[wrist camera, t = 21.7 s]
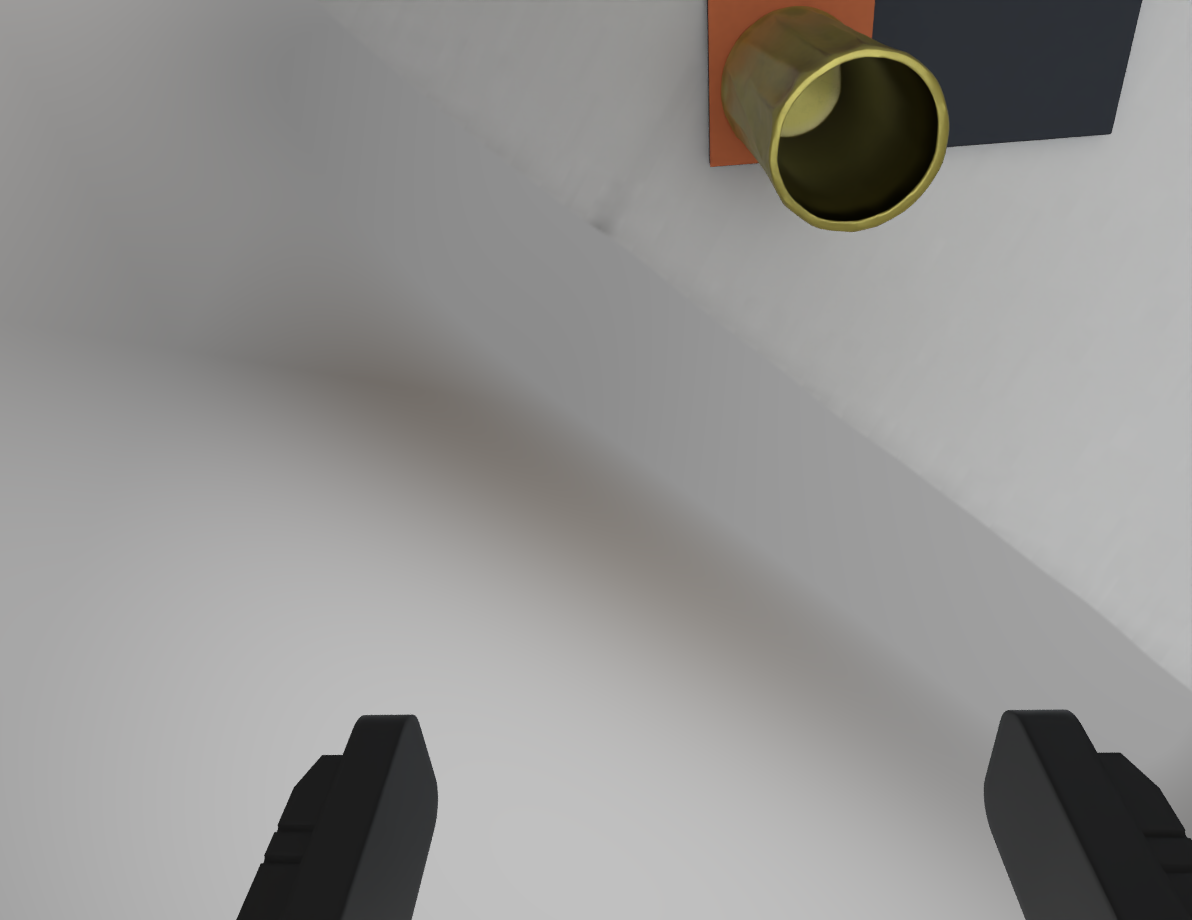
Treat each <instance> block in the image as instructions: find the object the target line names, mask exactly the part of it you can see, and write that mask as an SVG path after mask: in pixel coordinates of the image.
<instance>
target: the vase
mask: <svg viewBox="0 0 1192 920" xmlns="http://www.w3.org/2000/svg"><path fill="white" fill-rule="evenodd" d="M721 100H722V107H723V110H724V113H725V116H726V118H727V120H728V122H729V124H730V126H731V128H732V130H733V132H734V133H735V135H736V137H737V138H739V139H740V140H741V141H742V142H743V143H744V144H745V146H746V147H747V148H748V150H749V151H750V152H751V153H752V154H753V156H754V157H755V158H756V160H757V161H758V162H759V164H760V165H761V166H762V168H763V169H764V171H765V172H766V174H767V175H768V177H769V179H770V181H771V183H772V184H773V186H774V188H775V190H776V192H777V194H778V195H779V197H780V199H781V201H782V203H783V204H784V205H785V206H786V207H787V208H788V209H790V210H791V211H792V212H793V213H795V214H796V215H797V216H799V217H800V218H801V219H803V220H804V221H806V222H807V223H809V224H810V225H812V226H814V227H817V228H819V229H825V230H832V231H845V232H856V231H861V230H865V229H869V228H873V227H877V226H879V225H881V224H883V223H885V222H887V221H889V220H891V219H892V218H894V217H896V216H897V215H899V214H901V213H902V212H904V211H905V210H906V209H908V208H909V207H910V206H911V205H912V204H914V203H915V202H916V201H917V200H918V199H919V197H920V196H921V195H922V194H923V193H924V192H925V190H926V189H927V188H928V187H929V185H930V184H931V182H932V181H933V179H934V178H935V176H936V174H937V173H938V171H939V169H940V167H941V165H942V163H943V160H944V156H945V153H946V148H947V142H948V136H949V115H948V110H947V106H946V102H945V98H944V95H943V92H942V89H941V87H940V85H939V83H938V81H937V79H936V78H935V76H934V75H933V74H932V73H931V72H930V71H929V70H928V68H926V67H925V66H924V65H923V64H922V63H921V62H920V61H919V60H917V59H916V58H914V57H913V56H912V55H910V54H909V53H907V52H904V51H901V50H897V49H894V48H891V47H889V46H886V45H884V44H882V43H879V42H877V41H875V40H873V39H872V38H870V37H868V36H866V35H864V34H861V33H859V32H857V31H855V30H853V29H852V28H850V27H848V26H846V25H844V24H843V23H842V22H841V21H840V20H838V19H837V18H835V17H834V16H832V15H831V14H829V13H827V12H825V11H822V10H820V9H817V8H813V7H808V6H792V7H786V8H782V9H778V10H775V11H772V12H770V13H768V14H766V15H764V16H763V17H762V18H760V19H759V20H757V21H756V22H755V23H754V24H752V25H751V26H750V27H749V28H748V29H747V30H746V31H745V32H744V33H743V34H742V35H741V36H740V37H739V39H738V40H737V41H736V43H735V45H734V46H733V48H732V49H731V52H730V54H729V56H728V58H727V60H726V63H725V66H724V69H723V74H722V82H721Z"/></svg>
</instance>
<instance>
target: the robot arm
mask: <svg viewBox="0 0 1192 920" xmlns="http://www.w3.org/2000/svg"><path fill="white" fill-rule="evenodd" d="M984 802H985V809H986V815H987V819H988V823H989V827H990V829H991V832H992V835H993V837H994V840H995V843H996V845H997V848H998V850H999V853H1000V855H1001V858H1002V860H1003V863H1004V866H1005V868H1006V871H1007V873H1008V876H1009V878H1010V881H1011V884H1012V886H1013V889H1014V891H1015V894H1016V896H1017V899H1018V901H1019V904H1020V907H1021V909H1022V911H1023V914H1024V917H1025V919H1026V920H1192V840H1191V839H1190V838H1187V837H1186V835H1185V829H1184V827H1183V825H1182V824H1181V822H1180V821H1179V819H1178V817H1177V816H1176V814H1175V813H1174V811H1173V809H1172V808H1171V806H1170V805H1169V803H1168V801H1167V800H1166V798H1165V796H1164V795H1163V793H1162V792H1161V790H1160V788H1159V787H1158V786H1157V785H1155V784H1154V783H1153V782H1152V781H1151V780H1150V779H1149V778H1148V777H1147V776H1145V775H1144V774H1143V773H1142V772H1141V771H1140V770H1139V769H1138V768H1137V767H1136V766H1134V765H1133V764H1132V763H1131V762H1130V761H1129V760H1128V759H1127V758H1126V757H1125V756H1123V755H1122V754H1121V753H1097V752H1096V750H1095V748H1094V746H1093V744H1092V743H1091V741H1090V739H1089V737H1088V736H1087V734H1086V732H1085V730H1084V728H1083V727H1082V725H1081V723H1080V722H1079V720H1078V719H1077V718H1076V716H1075V715H1074V714H1073V713H1071V712H1070V711H1068V710H1008V711H1005V712H1004V713H1003V715H1002V717H1001V720H1000V724H999V728H998V732H997V735H996V740H995V743H994V747H993V751H992V755H991V758H990V762H989V766H988V770H987V773H986V777H985V782H984ZM437 808H438V791H437V782H436V778H435V775H434V771H433V768H432V764H431V761H430V758H429V755H428V751H427V748H426V744H425V741H424V737H423V734H422V731H421V728H420V724H419V722H418V719H417V717H416V716H415V715H363V716H361V717H360V718H359V719H358V720H357V722H356V724H355V726H354V728H353V730H352V733H351V735H350V738H349V740H348V743H347V745H346V748H345V751H344V753H343V755H322V756H321V757H320V758H319V759H318V761H317V762H316V763H315V764H314V765H313V766H312V767H311V769H310V770H309V771H308V772H307V773H306V774H305V776H304V777H303V778H302V779H301V780H300V781H299V782H298V783H297V785H296V786H295V787H294V789H293V791H292V793H291V796H290V798H289V800H288V802H287V805H286V807H285V809H284V812H283V814H282V816H281V819H280V821H279V823H278V830H277V832H275V833H274V835H273V837H272V839H271V841H270V844H269V846H268V848H267V851H266V853H265V855H264V856H265V860H264V863H263V864H260V867H259V869H258V871H257V874H256V876H255V878H254V881H253V883H252V885H251V887H250V890H249V892H248V894H247V896H246V899H245V901H244V903H243V906H242V908H241V910H240V913H239V915H238V917H237V919H236V920H411V919H412V916H413V911H414V907H415V904H416V900H417V896H418V892H419V888H420V884H421V879H422V875H423V872H424V868H425V864H426V860H427V856H428V852H429V848H430V844H431V840H432V836H433V832H434V828H435V823H436V818H437Z"/></svg>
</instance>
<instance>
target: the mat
mask: <svg viewBox="0 0 1192 920" xmlns="http://www.w3.org/2000/svg"><path fill="white" fill-rule="evenodd" d="M1141 3H1142V0H707V16H708V86H709V156H710V166H711V167H715V166H727V165H740V164H753V163H759V162H758V161H757V160H756V158H755V157H754V156H753V154H752V153H751V152H750V151H749V150H748V148H747V147H746V146H745V144H744V143H743V142H742V141H741V140H740V139H739V138H737V137H736V135H735V133H734V132H733V130H732V128H731V126H730V124H729V122H728V120H727V118H726V116H725V113H724V110H723V107H722V100H721V82H722V74H723V69H724V66H725V63H726V60H727V58H728V56H729V54H730V52H731V49H732V48H733V46H734V45H735V43H736V41H737V40H738V39H739V37H740V36H741V35H742V34H743V33H744V32H745V31H746V30H747V29H748V28H749V27H750V26H751V25H752V24H754V23H755V22H756V21H757V20H759V19H760V18H762V17H763V16H764V15H766V14H768V13H770V12H772V11H775V10H778V9H782V8H786V7H792V6H808V7H813V8H817V9H820V10H822V11H825V12H827V13H829V14H831V15H832V16H834V17H835V18H837V19H838V20H840V21H841V22H842V23H843V24H844V25H846V26H848V27H850V28H852V29H853V30H855V31H857V32H859V33H861V34H864V35H866V36H868V37H870V38H872V39H873V40H875V41H877V42H879V43H882V44H884V45H886V46H889V47H891V48H894V49H897V50H901V51H904V52H907V53H909V54H910V55H912V56H913V57H914V58H916V59H917V60H919V61H920V62H921V63H922V64H923V65H924V66H925V67H926V68H928V70H929V71H930V72H931V73H932V74H933V75H934V76H935V78H936V79H937V81H938V83H939V85H940V87H941V89H942V92H943V95H944V98H945V102H946V106H947V110H948V115H949V136H948V142H947V147H954V146H967V145H979V144H992V143H1005V142H1017V141H1030V140H1043V139H1056V138H1068V137H1081V136H1094V135H1106V134H1111V133H1112V128H1113V124H1114V120H1115V115H1116V111H1117V107H1118V102H1119V98H1120V94H1121V89H1122V85H1123V81H1124V77H1125V72H1126V68H1127V64H1128V59H1129V55H1130V51H1131V46H1132V42H1133V38H1134V33H1135V29H1136V25H1137V20H1138V16H1139V12H1140V8H1141Z"/></svg>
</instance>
